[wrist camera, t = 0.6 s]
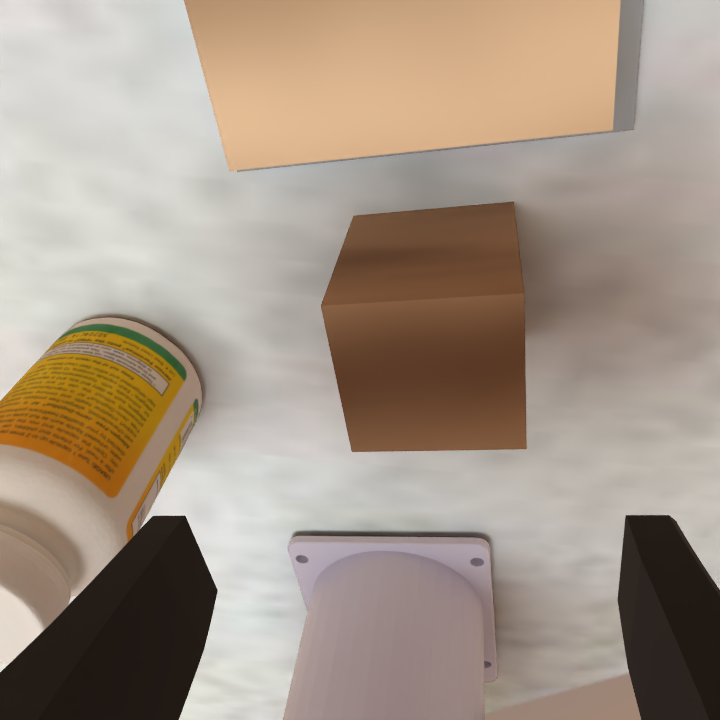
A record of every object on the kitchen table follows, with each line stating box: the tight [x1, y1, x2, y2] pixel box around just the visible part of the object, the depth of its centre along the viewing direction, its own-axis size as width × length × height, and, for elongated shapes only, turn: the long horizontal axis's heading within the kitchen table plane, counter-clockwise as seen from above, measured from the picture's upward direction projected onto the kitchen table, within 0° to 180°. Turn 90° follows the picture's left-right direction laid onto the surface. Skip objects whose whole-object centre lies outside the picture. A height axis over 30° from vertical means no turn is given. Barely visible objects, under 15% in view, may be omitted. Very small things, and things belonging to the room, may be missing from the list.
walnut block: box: [321, 202, 527, 452], centre depth 18 cm, size 4×4×5 cm
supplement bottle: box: [0, 318, 202, 663], centre depth 20 cm, size 5×5×10 cm
